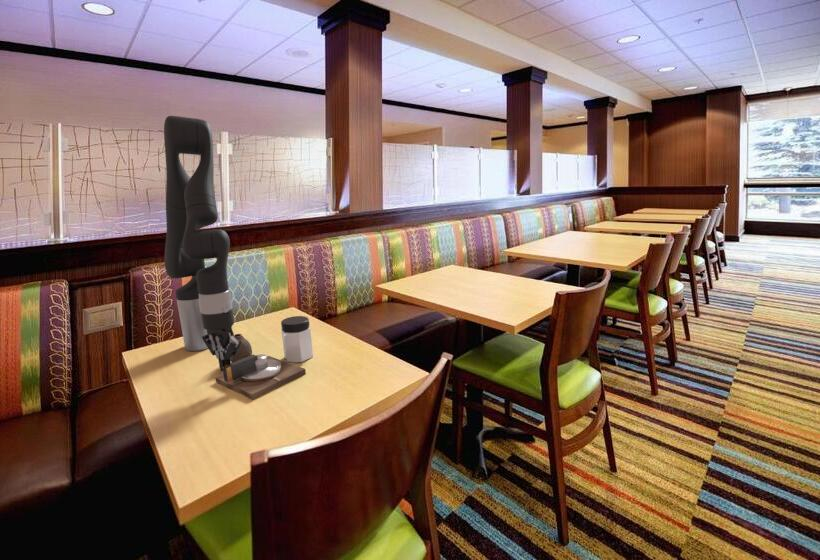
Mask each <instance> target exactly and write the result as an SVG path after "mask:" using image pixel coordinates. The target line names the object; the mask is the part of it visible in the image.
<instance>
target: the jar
mask: <svg viewBox="0 0 820 560" xmlns="http://www.w3.org/2000/svg"><path fill="white" fill-rule="evenodd" d="M280 322H281V323H280V325H281V326H280V327H281V338H282V346H283V355H284V358H285V362H287V363H303V362H306V361H307V360H309V359H311V358H313V357H314V353H313V342H312V340H313V339H312V333H311V332H312V331H311V327H310V319H309V318H308V317H307V316H303V315H295V316H289V317H286V318H284V319H282V320H281V321H280Z"/></svg>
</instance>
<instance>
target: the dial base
mask: <svg viewBox="0 0 820 560" xmlns="http://www.w3.org/2000/svg"><path fill="white" fill-rule="evenodd" d="M266 356H267V359H274V360H277V361H279V362H280V363H281V372H280V373H279V374H278V375H276V376H275V377H273V378H270V379H267V380H264V381H258V382H247V381H243V380H241V379H240V378H238V379H236V380H234V381H232V382H230V383H227V382H225V381H224V375H223V373H222V374H221V375H220V374H219V375H218V376H216V377H215V378H214V379H215V383H216V384H218V385H220V386H222V387H224V388H227V389H229V390H231V391H233V392H234V393H237V394H239V395H241V396H243V397H245V398H248V399H250V400H255V399H257V398H259V397H261V396H264V395H265V394H267V393H270V392H272V391H273V390H274V391H275V390H276V389H277V388H279V387H282V386H284V385H286V384H288V383H289V382H292V381H294V380H295V379H298V378H300V377H303V376H305V375H306V374H307V373H306V368H303V367H301V366H299V365H295V364H292V363H291V362H287V361H286V360H281V359H279V358H276V357H273V356H270V355H266Z"/></svg>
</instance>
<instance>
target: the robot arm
mask: <svg viewBox="0 0 820 560" xmlns="http://www.w3.org/2000/svg"><path fill="white" fill-rule="evenodd" d="M163 139H164V154H165V169H166V183H165V184H166V187H165V216H166V235H165V236H166V237H165V248H164V268H165V272H166V275H168V276H167V277H169V278H171V279H181V278H182V279H183V278H189V277H191V279H190V280H189V281H188V282H186V283H185V284H184V285H182V286H180V287H178V288H177V289H176V291H175V299H176V303H177V309H178V314H179V320H180V321H179V322H180V326H181V332H182V338H183V339H182V340H183V343H184V349H185V351H187V352H198V351H203V350H207V349H208V350H209V352H210V354H211V355H212V356H215V357H216V359H217V360H218V364H219V365H218V366H219V371H220V372H221V373H223V369H222V366H225V365H228V364H230V363H232V362H231V361H230V357H232V356H235V355H236V353H237V351H238V349H239V346H240V344H241V340H240V339H239V340H236V339H235V338H234V337H233V336H234V335H235V333H234V331H233V325H234V324H235V316H234V309H233V302H232V301H233V300H232V296H231V293H230V289H229V281H228V273H227V272H228V271H227V269H228V268H227V267H228V259H229V252H230V247H231V246H230V245H231V239H230V237H229V235H228V233H227V231H225V230H223V229H221V228H218V229H217V228H216V229H215V228H214V229H203V228H206V227H208V226H211V225H214V224H216V222H218V218H219V217H218V209H217V208H218V207H217V201H216V195H215V186H214V185H215V184H214V183H215V182H214V178H215V177H214V174H215V173H214V143H213V142H214V141H213V133H212V128H211V124H210V123H209V122H208V121H207V120H205V119H199V118H193V117H192V118H191V117H187V116H180V115H179V116H176V115H168V116H167V117H166V118H165V119H164V124H163ZM180 154H183V155H184V154H185V155H195V156H196V155H197V156H200V160H199V163H198V166H197V168H196V169H195V171H194V173H193V174H192V175H191V177H190V176H189V174H188V172H187V171H186V169H185V168H184V166H183V164H182V162H181V159H180ZM200 229H201V230H200ZM207 259H208V260H209V259H216V261H215V262H214V263H213V264H212V265H209V266H207V267H206V263H205V262H206V261H205V260H207Z"/></svg>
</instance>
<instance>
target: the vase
mask: <svg viewBox="0 0 820 560" xmlns="http://www.w3.org/2000/svg"><path fill="white" fill-rule="evenodd" d="M233 337H234V338H235V339H236V340H239V339H240V340H241V344H240V346H239V349H238V351H237V353H236V355H235V356H232V357H230V362H231V363H233V362H236V361H238V360H241V359H243V358H246V357H248V356H251V355H253V349H252V348H253V347H252V345H251V343H250V341H249V340H248V339H246V337H244V335H242V334H241V333H236V334H235V333H234V336H233Z"/></svg>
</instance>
